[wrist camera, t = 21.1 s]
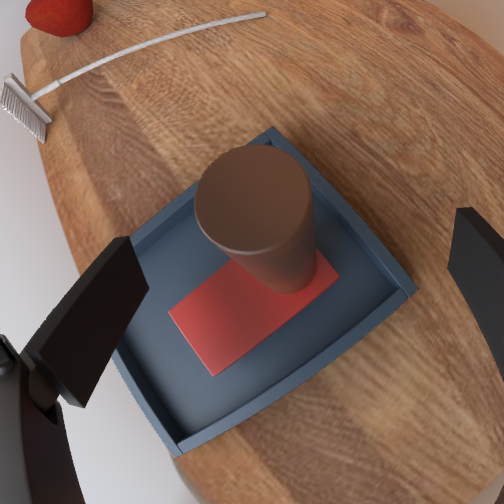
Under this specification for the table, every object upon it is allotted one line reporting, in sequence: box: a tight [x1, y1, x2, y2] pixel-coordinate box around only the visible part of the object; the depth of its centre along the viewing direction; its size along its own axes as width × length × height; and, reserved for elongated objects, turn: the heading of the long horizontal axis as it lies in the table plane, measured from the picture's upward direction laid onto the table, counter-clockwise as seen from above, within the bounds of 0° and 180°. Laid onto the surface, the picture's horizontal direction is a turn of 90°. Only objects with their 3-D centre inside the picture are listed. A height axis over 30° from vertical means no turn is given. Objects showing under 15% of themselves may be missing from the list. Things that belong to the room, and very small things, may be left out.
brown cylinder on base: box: [168, 144, 340, 377], centre depth 13 cm, size 8×4×12 cm, turn 128°
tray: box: [111, 126, 419, 458], centre depth 19 cm, size 18×14×2 cm
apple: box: [25, 0, 93, 37], centre depth 29 cm, size 11×11×12 cm
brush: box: [0, 11, 266, 144], centre depth 25 cm, size 4×27×9 cm, turn 107°
